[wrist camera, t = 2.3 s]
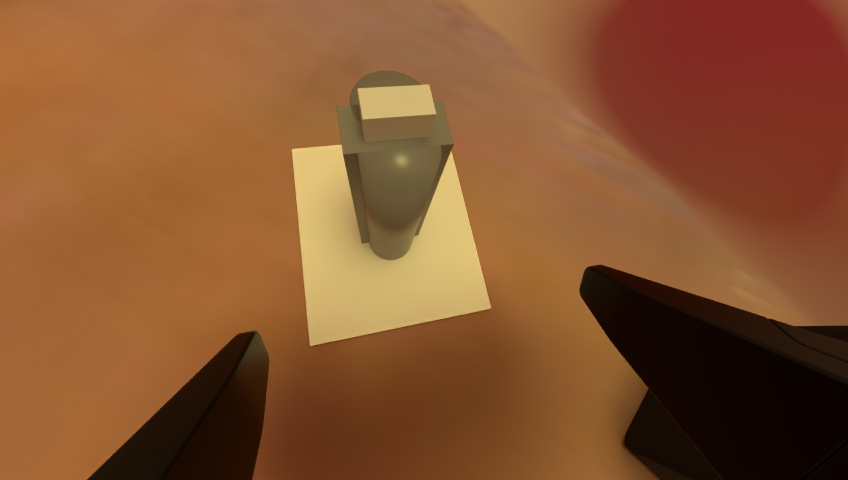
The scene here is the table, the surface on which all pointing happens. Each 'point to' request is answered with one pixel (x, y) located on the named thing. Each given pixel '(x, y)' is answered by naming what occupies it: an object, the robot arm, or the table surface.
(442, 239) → the mat
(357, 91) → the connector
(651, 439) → the electronic device
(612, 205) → the table surface
